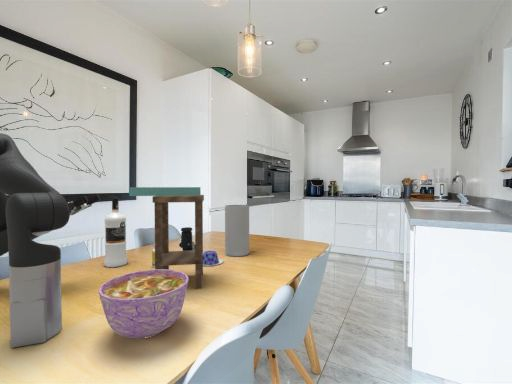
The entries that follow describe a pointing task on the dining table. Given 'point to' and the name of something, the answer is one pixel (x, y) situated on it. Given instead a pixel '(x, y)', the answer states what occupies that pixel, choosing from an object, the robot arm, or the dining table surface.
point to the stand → (162, 237)
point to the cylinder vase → (236, 230)
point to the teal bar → (164, 191)
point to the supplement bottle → (153, 257)
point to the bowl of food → (143, 301)
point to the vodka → (115, 237)
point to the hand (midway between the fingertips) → (92, 197)
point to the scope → (187, 239)
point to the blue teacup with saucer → (211, 258)
